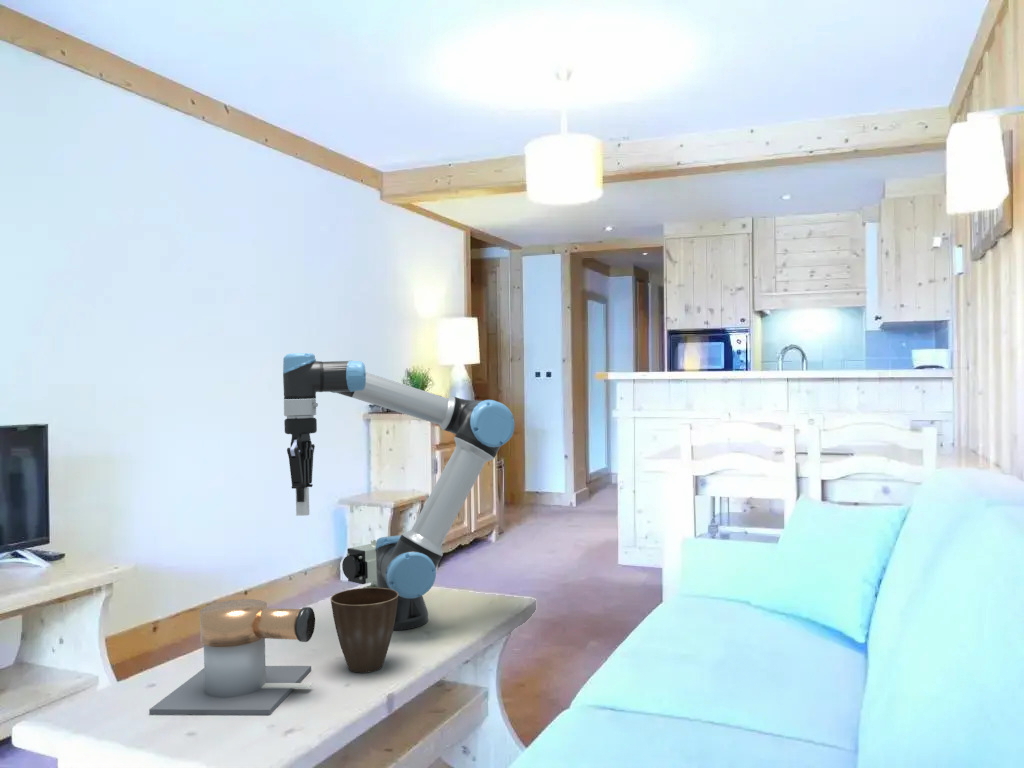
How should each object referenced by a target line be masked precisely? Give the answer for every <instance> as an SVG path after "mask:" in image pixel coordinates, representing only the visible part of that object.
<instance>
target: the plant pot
mask: <svg viewBox="0 0 1024 768" xmlns="http://www.w3.org/2000/svg"><path fill="white" fill-rule="evenodd" d="M397 603H398V592H396V591H394V590H392V589H387V588H363V587H359V588H353V589H348V590H343V591H340V592H336V593H334V594H333V595H332V596H331V597H330V604H331V610H332V616H333V621H334V626H335V627H334V628H335V630H336V634H337V638H338V641H339V645H340V648H341V651H342V654H343V657H344V660H345V662H346V664H347V667H348V669H349V670H350V672H354V673H359V674H361V673H365V674H366V673H372V672H376V671H378V670H380V669H382V667H383V666H384V663H385V659H386V657H387V653H388V651H389V647H390V642H391V639H392V636H393V631H394V630H393V627H394V623H395V617H396V611H397Z"/></svg>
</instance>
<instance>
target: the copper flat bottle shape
mask: <svg viewBox="0 0 1024 768" xmlns="http://www.w3.org/2000/svg"><path fill="white" fill-rule="evenodd" d="M315 615H316V614H315V611H314V609H313V608H312V607H309V606H304V607H302V608H282V607H281V608H276V607H268V603H267V602H266V601H264V600H262V599H261V600H260V599H252V598H250V599H249V598H248V599H247V598H242V599H231V600H225V601H221V602H220V601H219V602H216V603H215V602H214V603H212V604H209V605H207V606H204V607H202V608H201V609H200V610H199V626H200V627H199V628H200V629H199V632H200V637H199V638H200V643H201V644H202V645H203V646H204V645H206V646H212V647H230V646H238V645H243V644H248V643H252V642H255V641H258V640H260V639H262V638H265V639H267V640H268V639H270V640H271V639H273V640H293V641H294V640H297V641H299V642H300V643H308V642H309V641H310V640H311V639H312V637H313V635H314V632H315V627H316V616H315Z"/></svg>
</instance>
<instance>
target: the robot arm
mask: <svg viewBox="0 0 1024 768" xmlns="http://www.w3.org/2000/svg"><path fill="white" fill-rule="evenodd" d="M282 371H283V372H282V381H283V382H282V384H283V415H284V416H285V417H286V418H285V419H284V420H283V421H284V422H283V423H284V424H283V426H284V433H285V434H286V435H291V440H290V447H287V449H286V452H287V455H288V456H287V457H288V460H289V461H288V462H289V471H290V479H291V489H295V506H296V507H295V508H296V509H295V512H296V513H295V516H298V517H299V516H309V515H310V488H312V487H313V484H312V483H313V468H314V467H313V466H314V454H315V447H316V446H315V444H313V443H312V441H311V439H312V438H311V434H316V433H317V431H318V429H317V427H318V426H317V424H318V423H317V418H316V417H315V416H316V415H317V408H318V406H319V403H318V402H317V393H324V392H325V393H333V394H338V395H342V396H346V397H349V398H353V399H355V400H359V401H363V402H365V403H368V404H372V405H375V406H378V407H382V408H384V409H388V410H390V411H393V412H397V413H399V414H400V413H401V414H404V415H407V416H410V417H413V418H416V419H420V420H423V421H426V422H430V423H432V424H436V425H439V427H440V429H441V430H442V431H446V432H449V433H451V434H454V435H455V436H454V439H453V440H454V442H455V447H454V450H453V451H452V454H451V455H450V458H449V459H448V461H447V463H446V465H445V467H444V468H443V470H442V472H441V474H440V476H439V478H438V480H437V481H436V483H435V485H434V486H433V489H432V490H431V492H430V494H429V496H428V498H427V499H426V501H425V503H424V505H423V507H422V509H421V510H420V513H419V514H418V516H417V518H416V520H415V522H414V524H413V526H412V527H411V529H410V530H408V531H405V532H402V534H399V535H390V536H389V535H388V536H381V537H379V538H377V539H376V548H375V551H376V567H377V588H387V589H392V590H394V591H396V592H398V603H397V611H396V617H395V623H394V627H393V631H402V630H403V631H405V630H409V629H411V630H412V629H414V628H419V627H421V626H423V625H425V624H427V623H428V622H429V611H428V610H429V609H428V608H427V604H426V601H425V599H424V597H423V596H424V595H425V594H427V593H428V592H429V591H430V590H431V589H432V587H433V586H434V584H435V582H436V577H437V570H436V569H437V566H438V565H439V564H440V561H441V559H442V557H443V555H444V553H443V550H442V545H443V543H444V541H445V539H446V537H447V535H448V533H449V532H450V530H451V528H452V526H453V524H454V522H455V520H456V518H457V516H458V515H459V512H460V511H461V509H462V507H463V505H464V504H465V502H466V500H467V497H469V494H470V492H471V490H472V488H473V487H474V484H476V481H477V479H478V477H479V475H480V474H481V471H482V470H483V468H484V466H485V464H486V463H488V462H491V461H493V460H494V459H495V457H496V456H497V454H498V452H499V450H500V448H501V447H502V446H504V445H505V444H507V442H509V440H511V438H512V437H513V435H514V433H515V418H514V415H513V413H512V412H511V410H510V408H509V407H508V406H507V405H505V404H503V403H502V402H500V401H497V400H494V399H485V400H479V399H478V400H475V399H474V400H473V399H472V400H471V399H463V398H460V397H457V396H453V395H452V396H450V397H448V398H447V397H444V396H441V395H438V394H435V393H432V392H429V391H425V390H422V389H419V388H417V387H416V388H415V387H413V386H410V385H407V384H404V383H401V382H397V381H394V380H391V379H388V378H386V377H383V376H382V377H381V376H379V375H375V374H372V373H368V372H366V366H365V363H364V362H363V361H361V360H358V361H357V360H356V361H355V360H338V361H337V360H335V361H329V360H328V361H322V360H321V361H319V360H317V358H316V356H315V353H311V352H310V353H308V352H306V353H305V352H296V353H293V352H291V353H288V354H286V355H285V356H284V357H283V366H282Z"/></svg>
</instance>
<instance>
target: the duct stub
mask: <svg viewBox="0 0 1024 768" xmlns="http://www.w3.org/2000/svg"><path fill="white" fill-rule="evenodd" d="M203 666H204V667H203V668H202V669H201V670H200V671H198V672H197V673H196V674H194V675H193V676H192V677H190V678H189V679H188V680H186V681H185V682H184V683H181V685H180V686H179V687H177V688H176V689H174V690H173V691H172V692H171V693H169V694H168V695H166V696H165V697H164V698H162V699H161V700H160V701H158V702H157V703H156V704H155V705H153V706H152V707H150V708H149V710H148V711H149V712H148V713H149V714H152V716H153V715H154V714H184V715H185V714H197V715H196V716H198V715H199V714H200V715H199V716H204V715H205V716H221V715H222V716H271V715H272V713H273V712H274V711H275V710H276V709H277V708H278V707H279V706H280V705H281V704H282V703H283V702H284V701H285V699H286V698H287V697H288V696H289V695H290V694H292V692H293V691H294V689H310V688H311V687H312V686H313V684H314V683H313V682H302V681H303V680H304V679H305V678H306V677H307V676H308V675H309V673H311V671H312V665H267V664H266V638H262V639H260V640H258V641H255V642H252V643H248V644H243V645H238V646H230V647H212V646H206V645H204V644H203ZM184 715H183V716H184ZM154 716H155V715H154Z"/></svg>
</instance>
